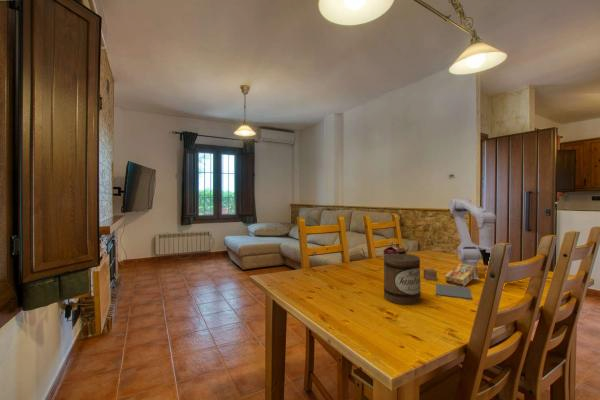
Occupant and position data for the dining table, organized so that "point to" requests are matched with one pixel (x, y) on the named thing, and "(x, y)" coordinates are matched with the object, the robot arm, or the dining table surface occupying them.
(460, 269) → the candy box
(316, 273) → the dining table surface
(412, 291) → the wooden container
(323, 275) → the dining table surface
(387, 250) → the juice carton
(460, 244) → the robot arm
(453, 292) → the mat
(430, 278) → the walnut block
